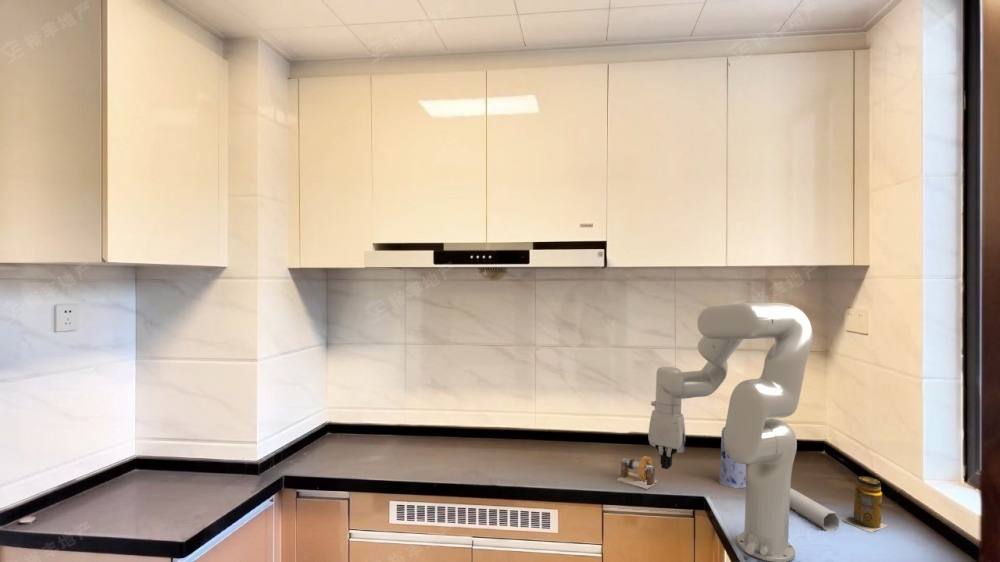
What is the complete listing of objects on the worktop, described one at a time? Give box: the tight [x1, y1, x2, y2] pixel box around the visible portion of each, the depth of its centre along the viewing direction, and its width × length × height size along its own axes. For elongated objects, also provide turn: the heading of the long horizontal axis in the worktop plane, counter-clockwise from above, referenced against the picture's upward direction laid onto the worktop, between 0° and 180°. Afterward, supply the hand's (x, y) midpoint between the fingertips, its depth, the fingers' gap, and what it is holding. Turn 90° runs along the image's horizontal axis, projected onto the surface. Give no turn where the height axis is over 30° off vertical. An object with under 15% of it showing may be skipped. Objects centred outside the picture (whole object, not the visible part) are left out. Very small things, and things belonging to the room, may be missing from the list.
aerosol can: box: [718, 426, 747, 489], centre depth 167 cm, size 8×8×20 cm
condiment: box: [842, 476, 889, 534], centre depth 142 cm, size 7×8×12 cm
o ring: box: [637, 455, 654, 481], centre depth 165 cm, size 7×2×7 cm, turn 140°
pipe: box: [621, 457, 655, 474], centre depth 166 cm, size 3×10×3 cm, turn 50°
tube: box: [789, 487, 840, 532], centre depth 150 cm, size 5×5×25 cm
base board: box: [616, 460, 658, 485], centre depth 166 cm, size 8×10×6 cm
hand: (665, 467), depth 160 cm, fingers closed
